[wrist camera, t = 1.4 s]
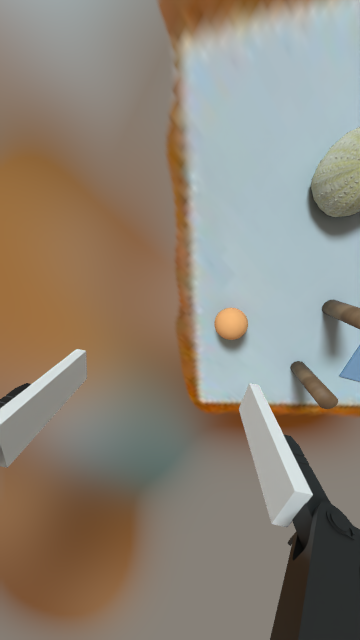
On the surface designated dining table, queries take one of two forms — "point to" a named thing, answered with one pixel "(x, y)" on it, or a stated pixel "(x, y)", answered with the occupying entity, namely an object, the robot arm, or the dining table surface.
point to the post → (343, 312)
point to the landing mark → (352, 367)
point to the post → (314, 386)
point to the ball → (231, 323)
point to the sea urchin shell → (339, 177)
